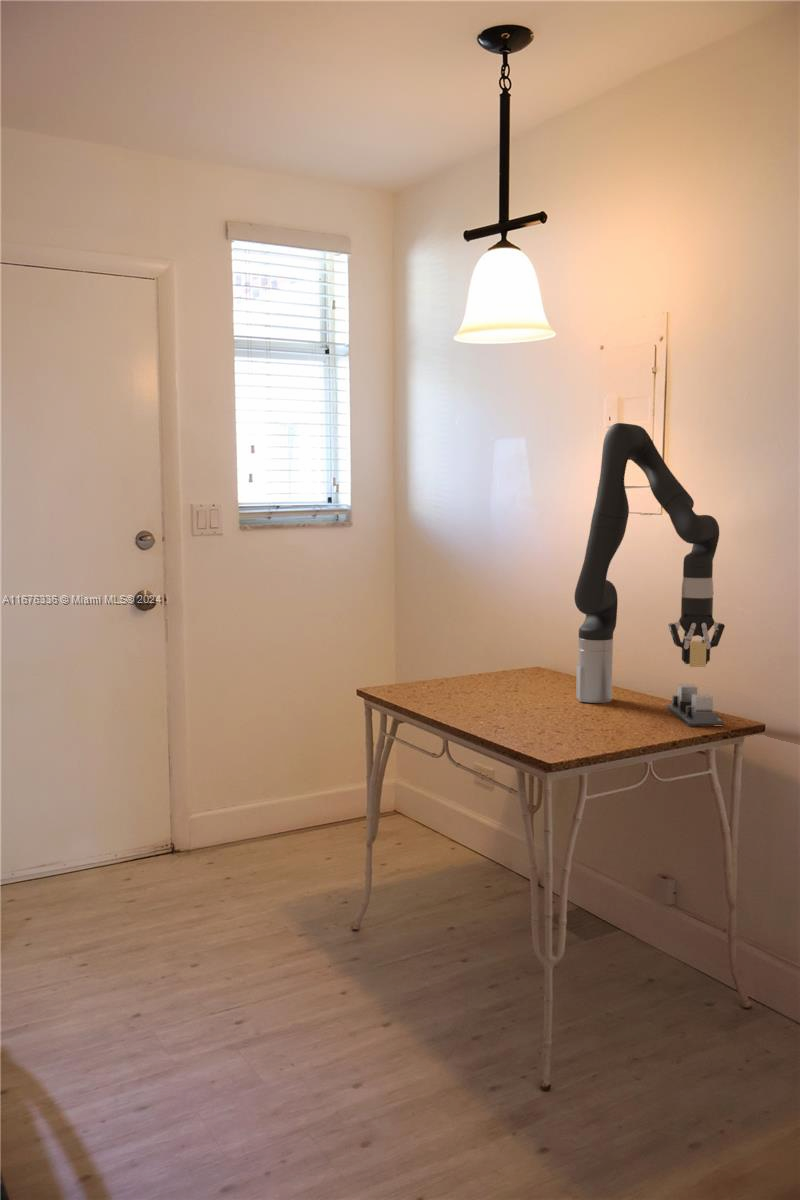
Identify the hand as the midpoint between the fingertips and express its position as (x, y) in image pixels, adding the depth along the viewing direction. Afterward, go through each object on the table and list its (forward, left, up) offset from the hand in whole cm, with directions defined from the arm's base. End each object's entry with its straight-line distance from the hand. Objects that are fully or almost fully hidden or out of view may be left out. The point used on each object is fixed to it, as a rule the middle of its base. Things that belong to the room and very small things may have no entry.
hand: (695, 663), depth 248 cm
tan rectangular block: (0, 0, -1) cm, 1 cm away
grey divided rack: (0, 0, -14) cm, 14 cm away
